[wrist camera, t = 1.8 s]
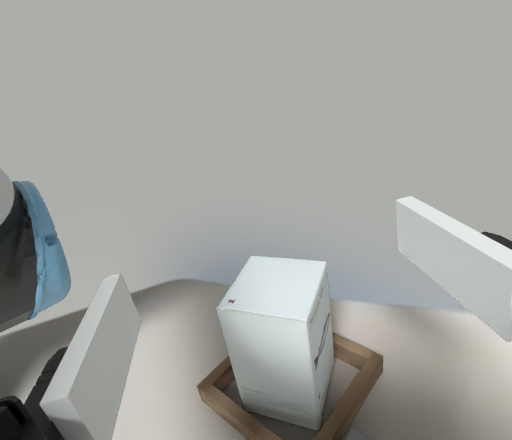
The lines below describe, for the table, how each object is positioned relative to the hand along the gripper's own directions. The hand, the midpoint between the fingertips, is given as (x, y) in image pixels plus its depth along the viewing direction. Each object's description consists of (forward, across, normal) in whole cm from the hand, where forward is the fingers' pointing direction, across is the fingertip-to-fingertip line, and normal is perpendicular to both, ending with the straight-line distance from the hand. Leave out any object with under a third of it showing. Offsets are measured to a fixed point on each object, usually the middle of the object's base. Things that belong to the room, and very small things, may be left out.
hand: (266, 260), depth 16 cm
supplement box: (+10, 0, -20) cm, 22 cm away
